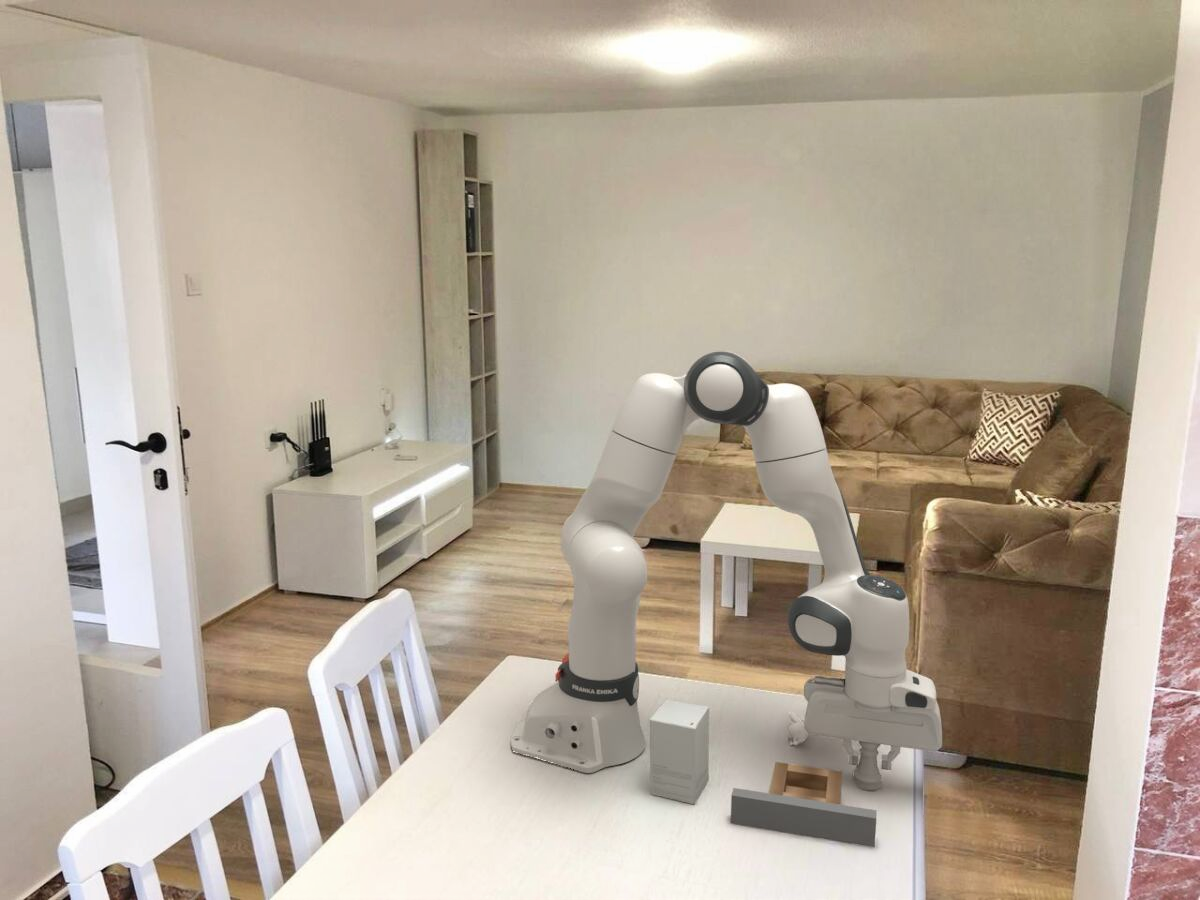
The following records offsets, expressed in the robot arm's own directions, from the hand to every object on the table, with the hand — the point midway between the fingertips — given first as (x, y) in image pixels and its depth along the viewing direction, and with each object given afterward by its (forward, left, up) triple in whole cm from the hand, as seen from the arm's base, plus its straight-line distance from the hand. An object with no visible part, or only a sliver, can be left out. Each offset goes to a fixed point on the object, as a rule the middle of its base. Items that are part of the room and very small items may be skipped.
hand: (869, 765), depth 144 cm
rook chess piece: (0, 0, -3) cm, 3 cm away
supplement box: (-28, -9, -3) cm, 30 cm away
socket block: (-9, -9, -3) cm, 13 cm away
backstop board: (-9, -15, -3) cm, 18 cm away
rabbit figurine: (-11, +12, -3) cm, 17 cm away
